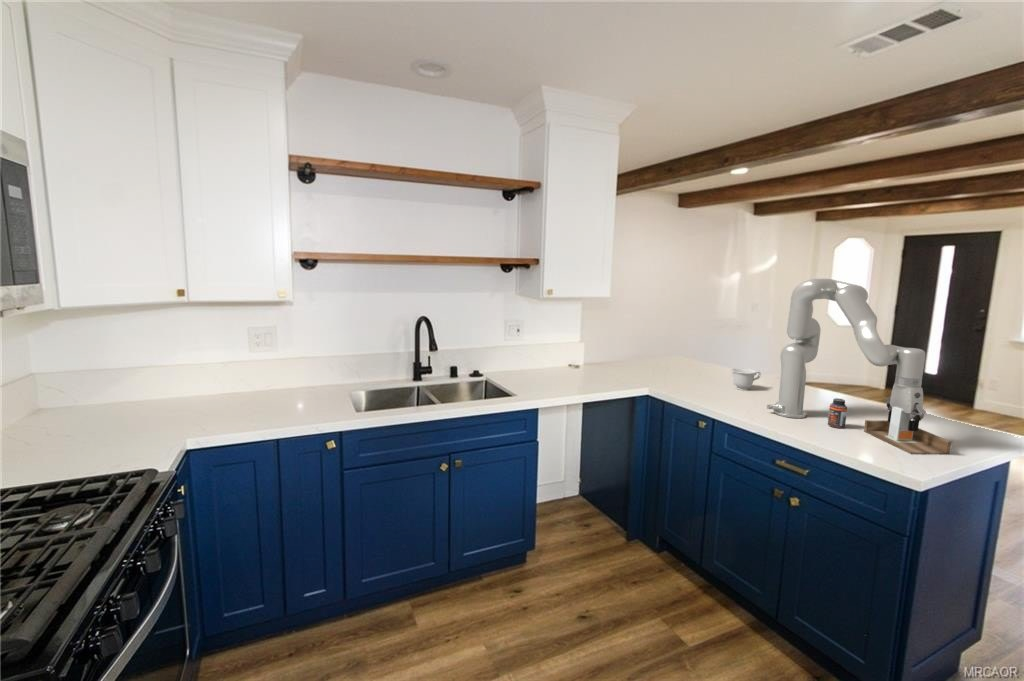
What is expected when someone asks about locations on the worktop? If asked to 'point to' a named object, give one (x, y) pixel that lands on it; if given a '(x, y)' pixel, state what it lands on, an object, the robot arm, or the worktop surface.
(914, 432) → the wooden tray
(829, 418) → the supplement bottle
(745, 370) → the teacup
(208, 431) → the worktop surface
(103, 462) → the worktop surface
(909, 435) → the skincare box
